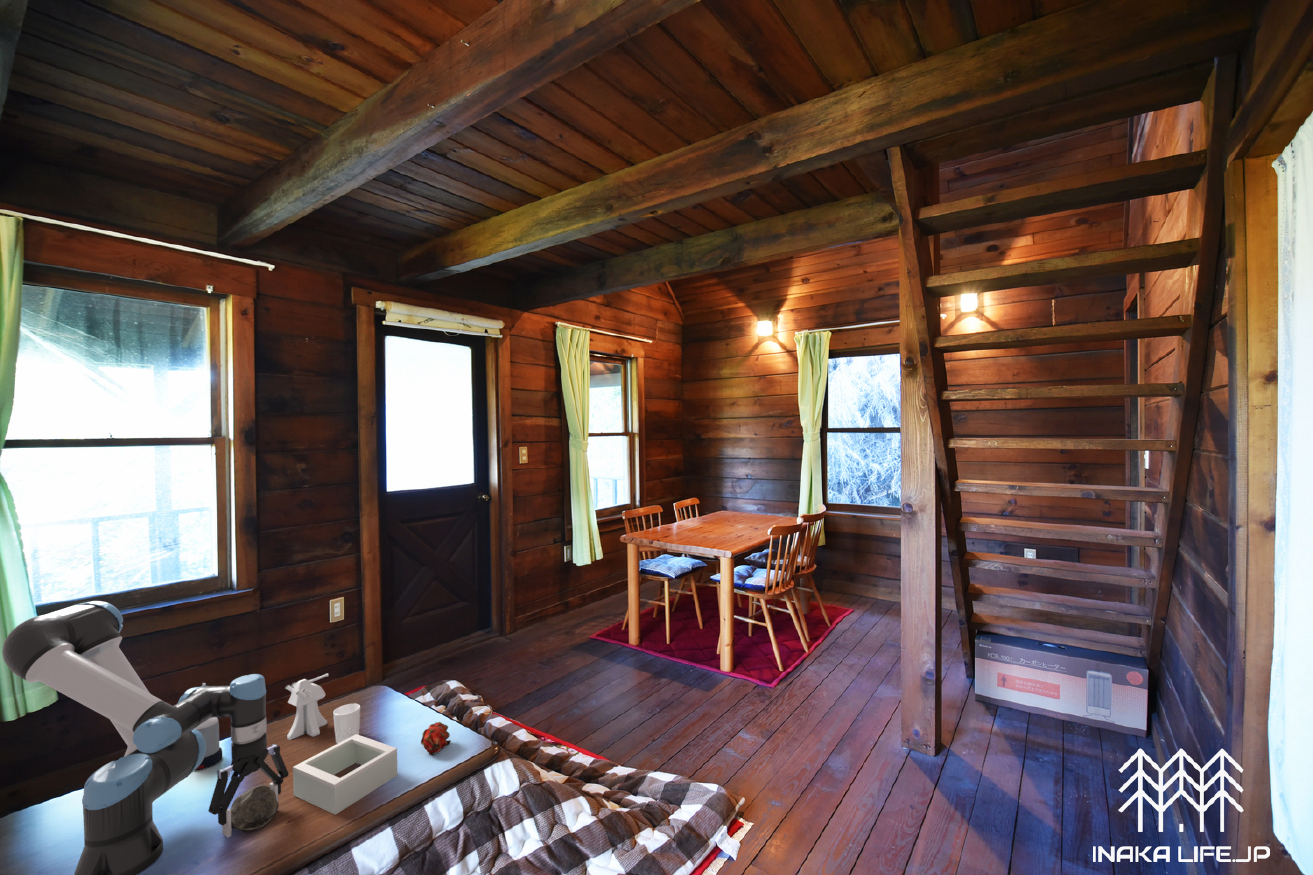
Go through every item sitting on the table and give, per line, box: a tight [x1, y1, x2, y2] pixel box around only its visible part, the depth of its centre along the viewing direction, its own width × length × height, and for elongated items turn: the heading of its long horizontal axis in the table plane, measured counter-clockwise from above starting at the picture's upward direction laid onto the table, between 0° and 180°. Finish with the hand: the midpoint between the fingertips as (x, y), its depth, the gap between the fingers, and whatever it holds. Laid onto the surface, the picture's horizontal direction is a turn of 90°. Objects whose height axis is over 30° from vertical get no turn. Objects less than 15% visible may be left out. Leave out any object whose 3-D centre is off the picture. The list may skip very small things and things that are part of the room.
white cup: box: [332, 703, 361, 744], centre depth 185 cm, size 8×8×10 cm
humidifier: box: [193, 682, 223, 772], centre depth 173 cm, size 8×8×25 cm
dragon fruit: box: [420, 721, 452, 756], centre depth 177 cm, size 8×8×12 cm
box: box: [292, 734, 399, 815], centre depth 160 cm, size 19×19×8 cm
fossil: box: [229, 784, 280, 833], centre depth 145 cm, size 11×9×10 cm
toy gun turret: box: [284, 673, 329, 741], centre depth 192 cm, size 12×13×18 cm
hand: (251, 820), depth 145 cm, fingers closed on fossil, 10 cm apart
